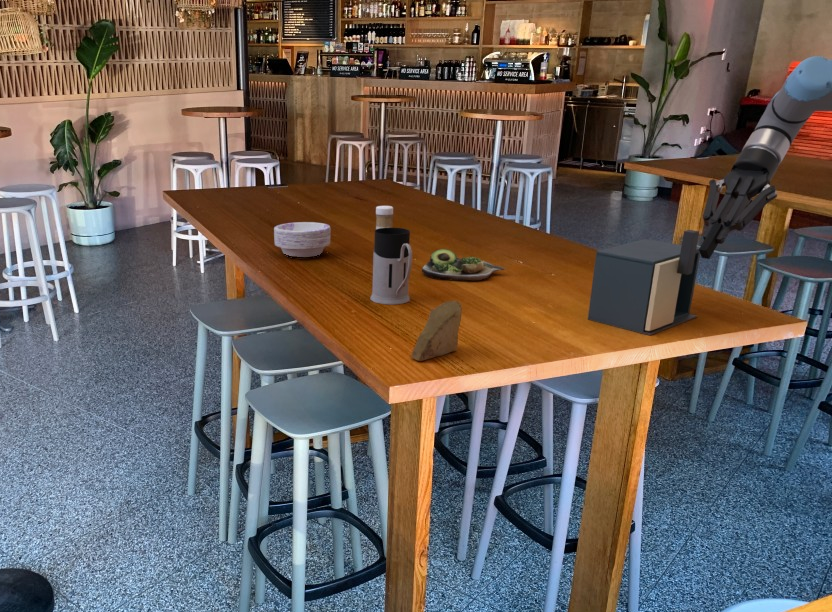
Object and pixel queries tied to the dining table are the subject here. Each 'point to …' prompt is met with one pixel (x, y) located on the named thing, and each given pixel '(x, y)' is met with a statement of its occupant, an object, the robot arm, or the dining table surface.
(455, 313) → the rock
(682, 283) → the cabinet
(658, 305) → the sliding door
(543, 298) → the dining table surface
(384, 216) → the sprinkles bottle
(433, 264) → the salad plate
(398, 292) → the glass holder
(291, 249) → the paper bowls
